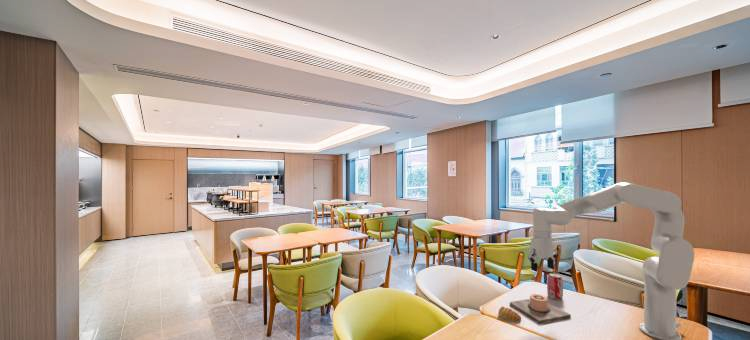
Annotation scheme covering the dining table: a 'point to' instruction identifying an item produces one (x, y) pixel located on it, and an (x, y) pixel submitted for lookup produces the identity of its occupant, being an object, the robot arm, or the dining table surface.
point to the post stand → (540, 316)
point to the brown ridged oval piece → (509, 314)
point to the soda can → (555, 286)
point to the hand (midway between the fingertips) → (542, 269)
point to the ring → (539, 302)
